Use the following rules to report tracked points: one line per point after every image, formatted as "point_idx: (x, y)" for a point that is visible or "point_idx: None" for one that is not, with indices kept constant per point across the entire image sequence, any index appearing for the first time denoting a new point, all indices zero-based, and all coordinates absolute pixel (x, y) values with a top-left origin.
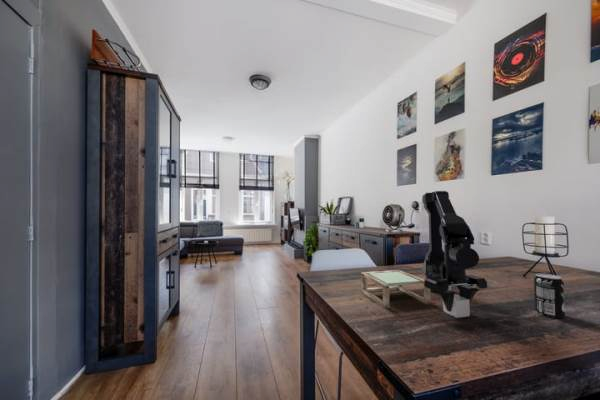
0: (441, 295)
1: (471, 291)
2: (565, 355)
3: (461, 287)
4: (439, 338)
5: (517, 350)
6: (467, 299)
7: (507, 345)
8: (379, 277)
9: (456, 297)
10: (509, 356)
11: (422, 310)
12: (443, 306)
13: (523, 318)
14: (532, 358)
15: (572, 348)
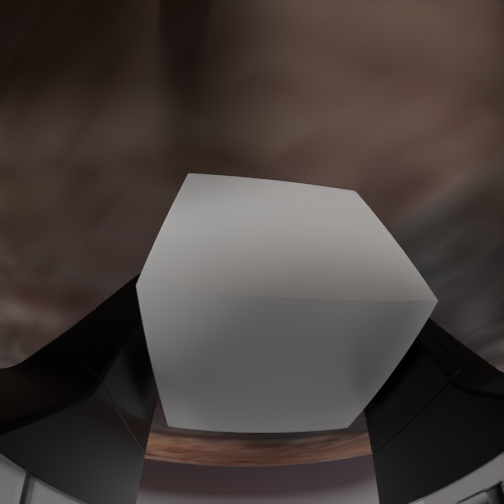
0: (49, 356)
1: (381, 500)
2: (287, 464)
3: (466, 458)
4: (8, 367)
5: (196, 451)
6: (340, 424)
7: (193, 443)
8: None
9: (290, 388)
10: (149, 449)
11: (16, 119)
12: (178, 198)
13: (484, 357)
14: (197, 460)
15: (343, 454)
